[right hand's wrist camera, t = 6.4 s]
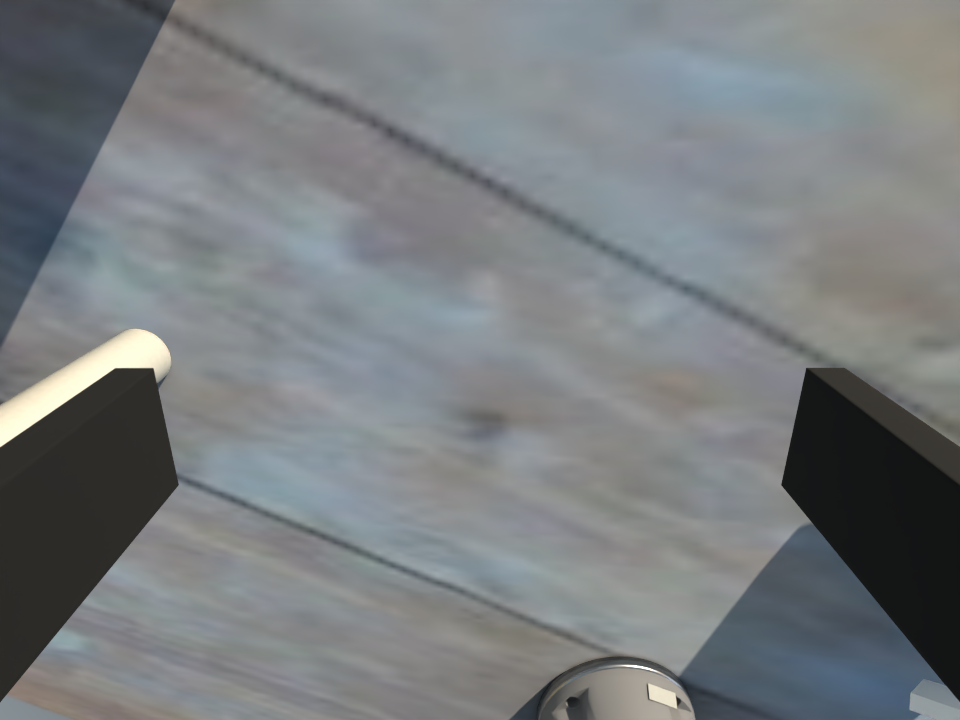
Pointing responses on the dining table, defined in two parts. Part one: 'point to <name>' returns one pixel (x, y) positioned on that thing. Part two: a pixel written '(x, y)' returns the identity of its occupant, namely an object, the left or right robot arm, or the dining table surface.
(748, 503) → the dining table surface
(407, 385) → the dining table surface
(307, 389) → the dining table surface
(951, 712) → the white plastic object
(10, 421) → the bottle
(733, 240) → the dining table surface
